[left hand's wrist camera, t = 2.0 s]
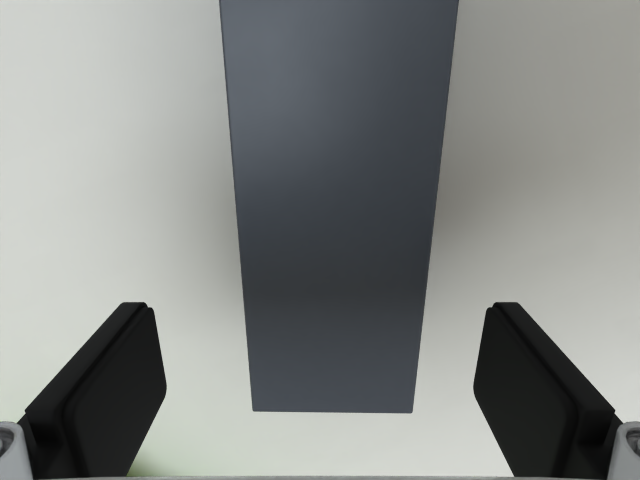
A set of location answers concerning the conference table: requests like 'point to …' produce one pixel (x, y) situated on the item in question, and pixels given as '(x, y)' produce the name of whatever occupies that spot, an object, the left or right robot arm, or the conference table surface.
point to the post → (336, 192)
